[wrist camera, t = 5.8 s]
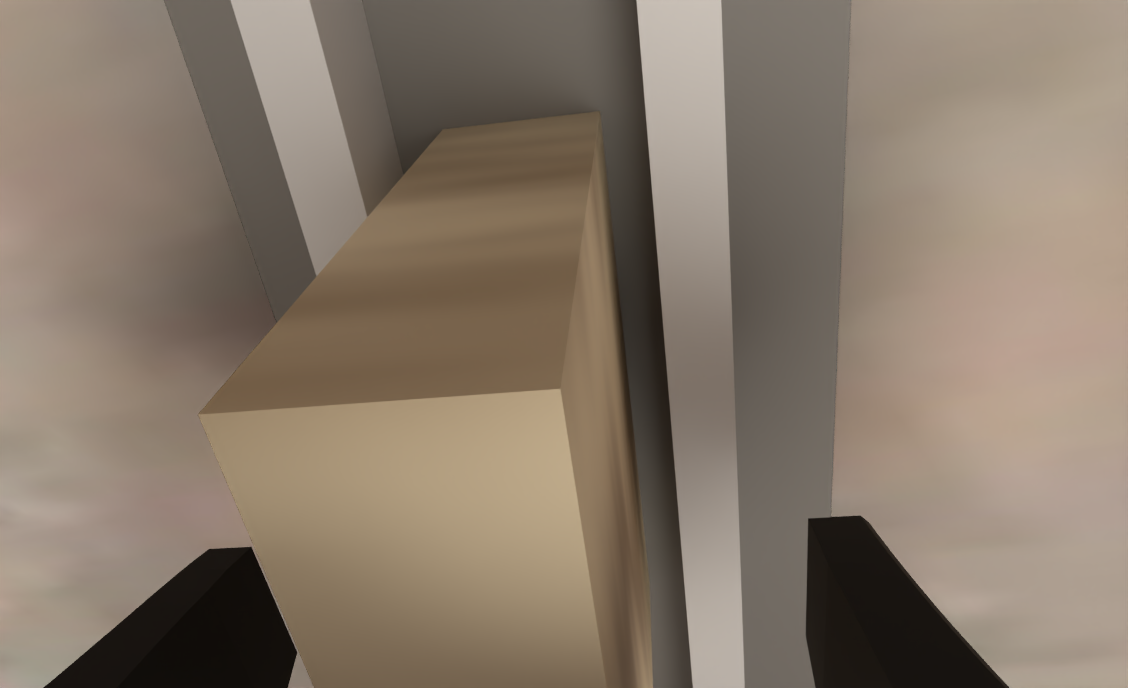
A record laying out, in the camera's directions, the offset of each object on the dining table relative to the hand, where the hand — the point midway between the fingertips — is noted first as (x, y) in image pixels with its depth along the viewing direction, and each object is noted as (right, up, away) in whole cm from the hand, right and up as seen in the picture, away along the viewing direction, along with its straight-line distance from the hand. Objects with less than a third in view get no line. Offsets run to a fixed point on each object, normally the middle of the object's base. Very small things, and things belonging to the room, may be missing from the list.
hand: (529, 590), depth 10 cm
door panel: (0, +2, +4) cm, 5 cm away
